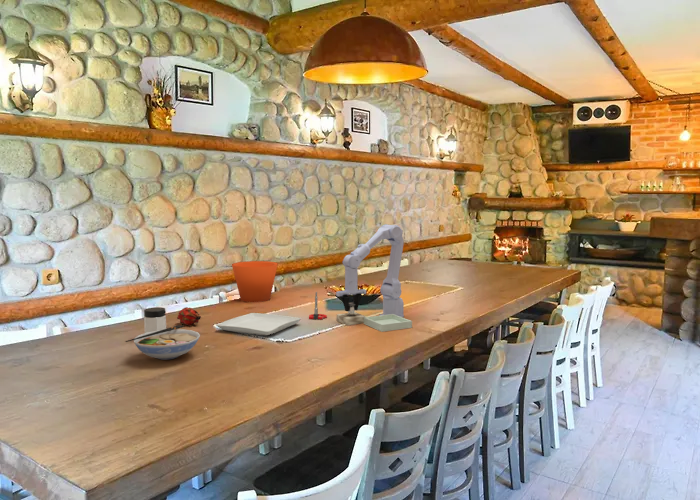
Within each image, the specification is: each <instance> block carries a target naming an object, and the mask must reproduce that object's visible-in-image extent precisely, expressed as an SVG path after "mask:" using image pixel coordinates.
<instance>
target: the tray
mask: <svg viewBox="0 0 700 500" xmlns="http://www.w3.org/2000/svg"><path fill="white" fill-rule="evenodd" d="M363 324H364V325H366V326H368V327H370V328H372V329H375V330H377V331H378V332H383V333H384V332H390V331H397V330H405V329H411V328H413V320H410V319H407V318H405V317H400V316H397V315H394V314H388V315H380V314H379V315H374V316H366V317H364V323H363Z"/></svg>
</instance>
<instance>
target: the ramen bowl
mask: <svg viewBox="0 0 700 500" xmlns="http://www.w3.org/2000/svg"><path fill="white" fill-rule="evenodd" d="M184 325H185V324H183V325H182V324H177V325H174V326H170V327H168V328H167V327H166V329H164V330H158V331H152V332H147V333H145V332H144V333H142V334H138V335H137V336H135V337H134V338H132V339H128V340H125V341H124V342H126V343H127V342H131V341H133V343H134V344H135V347H137V349H138V350H139V351H140V352H141V353H142V354H144V355H146V356H148V357H150V358H155V359H158V360H162V361H163V360H164V361H166V360H174V359H176V358H179V357H180V356H182V355H184V354H187V353H188V352H190V351H191V350H192V349H193V348H194V347H195V345H197V342H198V341H199V339H200V336H201V334H200V333H199V332H198V331H196V330H195V331H194V330H191V329H184ZM182 328H183V329H182Z"/></svg>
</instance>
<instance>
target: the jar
mask: <svg viewBox="0 0 700 500" xmlns="http://www.w3.org/2000/svg"><path fill="white" fill-rule="evenodd" d="M166 311H167V310H166V308H165V307H161V306H156V307H154V306H153V307H148V308H145V309H144V310H143V317H144V318H143V321H144V322H143V325H144V333H147V332H152V331H158V330H164V329H167V315H166Z"/></svg>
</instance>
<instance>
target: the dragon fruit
mask: <svg viewBox="0 0 700 500" xmlns="http://www.w3.org/2000/svg"><path fill="white" fill-rule="evenodd" d="M201 318H202V317H201V316H200V313H199V312H198V311H197V310H195V309H194V308H192V307H187V306H186V307H183V308H182V309H181V310H180V311H178V313H177V317H176V319H177V320H179V322H180V325H181V326H182V325H186V326H188V327H193V326H194V325H195V324H198V323H199V322H200V320H201Z"/></svg>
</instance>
